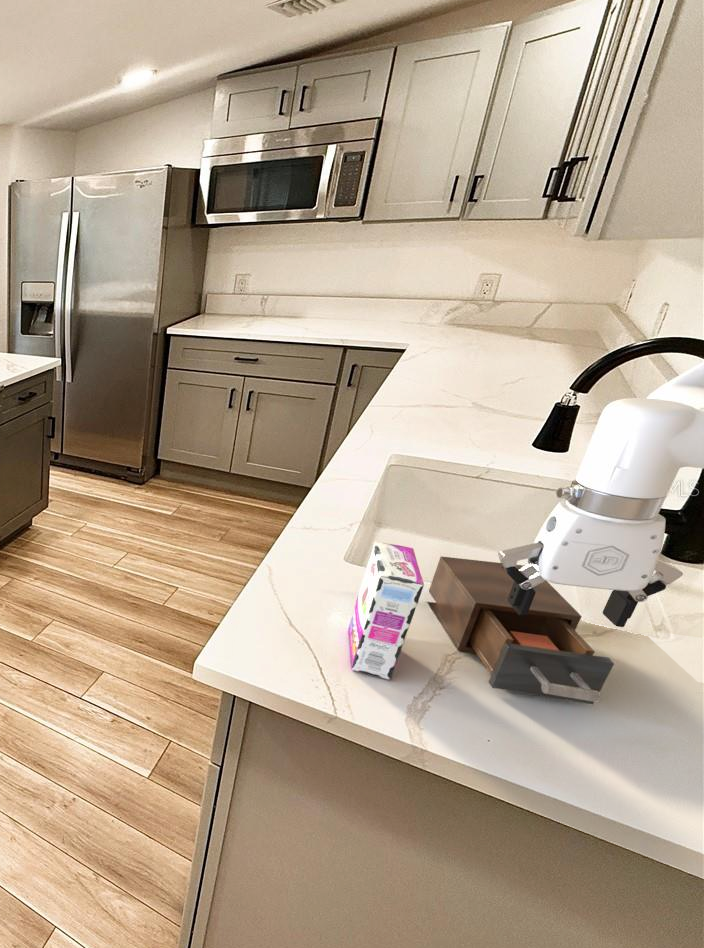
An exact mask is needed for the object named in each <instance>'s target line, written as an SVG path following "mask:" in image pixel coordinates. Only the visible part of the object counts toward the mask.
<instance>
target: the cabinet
mask: <svg viewBox="0 0 704 948" xmlns="http://www.w3.org/2000/svg"><path fill="white" fill-rule="evenodd" d="M524 566H525V564H524V565H523V564H517V568H518V570H519V569H521V568H522V567H524ZM536 573H537V572H536ZM536 573H535V574H536ZM533 575H534V574H533ZM531 576H532V575H531ZM529 577H530V576H529ZM527 578H528V577H527ZM513 583H514V580H513V579H512V578H511V577H510V576H509V575H508V574H507V573H506V571H505V570H504V569H503V568H502V564H501V562H496V561H485V560H477V559H469V558H459V557H451V556H439V560H438V563H437V566H436V569H435V572H434V575H433V577H432V581H431V583H430V586H429V588H428V593H429V594H430V596H431V597H432V598H433V600H434V602H433V601H426V603H427V605H428V606H429V608H430V610H431V611H432V613H433V614H434V615H435V617H436V619H437V620H438V622H439V623H440V625H441V626H442V629H444V631H445V633H446V634H447V636H448V637H449V639H450V640H451V642H452V645H454V647H455V649H456V650H457V651H460V652H461V651H462V652H467V653H474V654H477V653H476V652H475V650H474V649H473V647H472V646H471V644H470V643H469V641H468V640H469V637H470V634H471V632H472V629H473V627H474V624H475V622H476V619H477V616H478V614H479V611H480V609H481V608H485V609H492V610H500V611H508V612H515V613H517V612H516V611H515V609H514V608H513V607H512V606H511V605H510V603H509V602H508V596H509V594H510V591H511V588H512V586H513ZM533 589H534V590H535V596H534V598H533V601H532V603H531V606H530V608H529V611H528V613H527V614H531V615H538V616H546V617H553V618H561V619H565V620H566V621H567V623H568V624H569V625H570V626H571V627H572V628H573V629H574V630H575V631H576V630H577V628H578V625H579V623H580V621H581V619H582V617H583V616H582V615H581V614H580V612H578V610H576V609H575V607H573V606H572V605H571V604H570V603H569V602H568V601H567V600H566V598H564V597H563V596H562V595H561V593H559V592H558V590H556V589H555V587H554V586H552V585H551V584H550V582H548V581H544V582H543V583H541V584H539V585H537V586H535V587H533Z"/></svg>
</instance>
